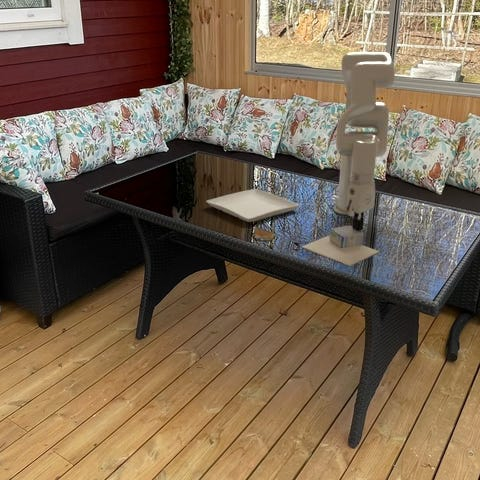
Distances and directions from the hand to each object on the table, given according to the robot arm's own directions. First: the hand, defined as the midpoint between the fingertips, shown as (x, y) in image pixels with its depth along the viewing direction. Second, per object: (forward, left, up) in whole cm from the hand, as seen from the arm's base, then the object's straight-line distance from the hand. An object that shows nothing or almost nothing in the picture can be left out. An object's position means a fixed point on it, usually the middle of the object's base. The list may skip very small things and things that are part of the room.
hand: (357, 229), depth 187 cm
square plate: (-49, -3, -6) cm, 49 cm away
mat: (0, -9, -5) cm, 10 cm away
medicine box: (-1, +1, -2) cm, 3 cm away
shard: (-27, -20, -6) cm, 34 cm away
